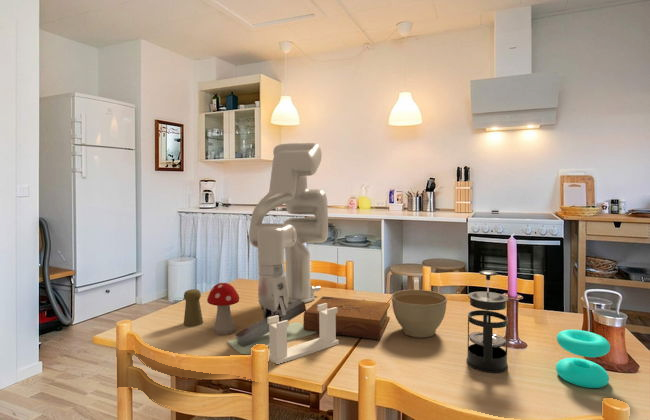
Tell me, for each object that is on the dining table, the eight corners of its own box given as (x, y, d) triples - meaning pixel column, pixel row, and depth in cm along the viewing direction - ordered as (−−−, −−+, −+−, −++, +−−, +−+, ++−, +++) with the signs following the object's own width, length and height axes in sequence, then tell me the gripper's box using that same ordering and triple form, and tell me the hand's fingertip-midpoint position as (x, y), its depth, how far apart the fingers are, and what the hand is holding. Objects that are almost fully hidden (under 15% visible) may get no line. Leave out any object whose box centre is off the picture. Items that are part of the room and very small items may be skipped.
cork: (197, 327, 123) (195, 293, 122) (179, 326, 124) (178, 292, 123) (206, 320, 129) (205, 287, 128) (189, 319, 130) (188, 287, 129)
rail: (300, 308, 121) (298, 299, 120) (306, 310, 118) (304, 301, 118) (238, 343, 108) (235, 334, 107) (242, 347, 106) (239, 337, 105)
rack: (327, 338, 113) (326, 302, 112) (339, 344, 108) (338, 307, 108) (266, 357, 100) (265, 318, 100) (277, 365, 96) (276, 323, 95)
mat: (297, 323, 125) (297, 321, 125) (316, 332, 117) (316, 330, 117) (227, 343, 110) (227, 341, 110) (243, 355, 102) (243, 353, 102)
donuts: (618, 347, 81) (564, 342, 84) (616, 393, 82) (562, 387, 84) (600, 329, 90) (551, 325, 93) (598, 371, 91) (550, 366, 94)
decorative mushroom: (201, 334, 117) (200, 285, 116) (219, 324, 125) (218, 278, 124) (229, 338, 113) (228, 288, 112) (246, 328, 121) (244, 281, 120)
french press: (466, 352, 102) (467, 265, 101) (506, 357, 99) (507, 268, 97) (465, 372, 91) (467, 276, 90) (510, 379, 88) (512, 279, 86)
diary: (303, 331, 117) (303, 312, 116) (323, 312, 134) (322, 296, 134) (379, 340, 110) (379, 320, 109) (389, 319, 127) (389, 302, 127)
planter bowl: (447, 325, 121) (447, 291, 121) (445, 346, 106) (446, 307, 105) (395, 320, 127) (395, 287, 126) (387, 339, 111) (387, 302, 111)
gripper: (298, 272, 108) (299, 337, 109) (268, 263, 121) (270, 321, 122) (274, 276, 103) (276, 344, 104) (246, 267, 116) (248, 327, 117)
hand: (272, 331), depth 113 cm, fingers closed on rail, 3 cm apart
